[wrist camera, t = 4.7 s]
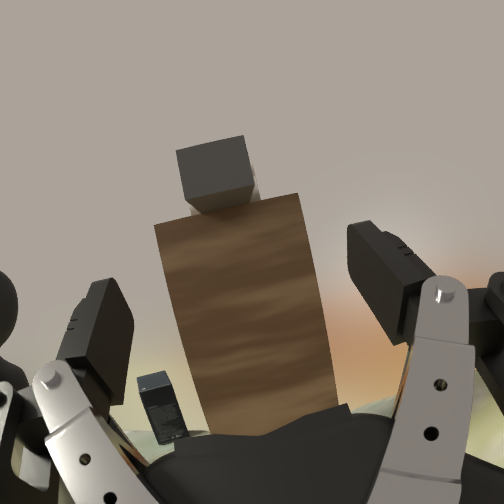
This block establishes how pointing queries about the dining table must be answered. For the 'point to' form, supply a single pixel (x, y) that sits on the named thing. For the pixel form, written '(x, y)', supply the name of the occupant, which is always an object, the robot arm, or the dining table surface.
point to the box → (162, 407)
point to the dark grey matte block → (216, 174)
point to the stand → (249, 313)
